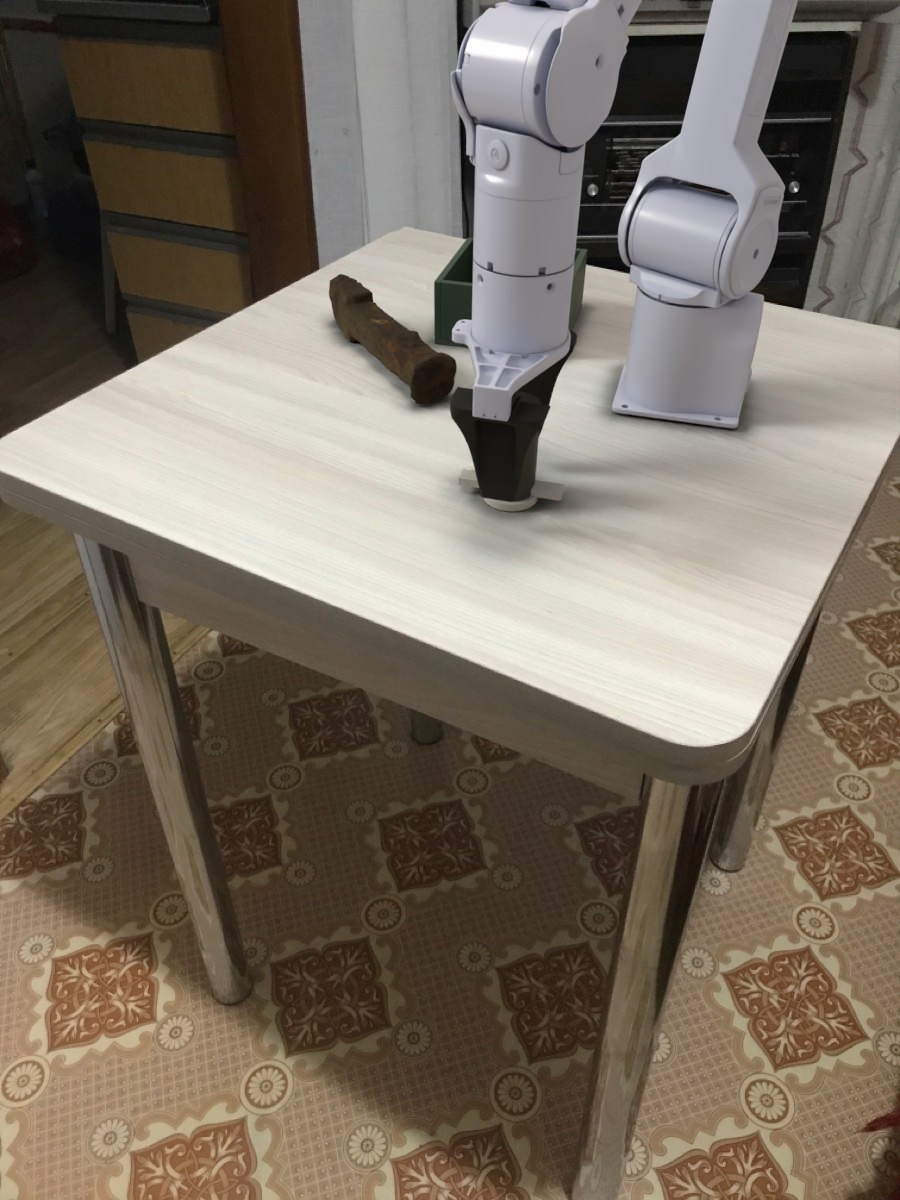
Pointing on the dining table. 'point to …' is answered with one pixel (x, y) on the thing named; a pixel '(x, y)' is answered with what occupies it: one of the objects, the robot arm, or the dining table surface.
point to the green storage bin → (458, 285)
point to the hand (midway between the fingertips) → (511, 465)
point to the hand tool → (391, 341)
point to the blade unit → (528, 484)
